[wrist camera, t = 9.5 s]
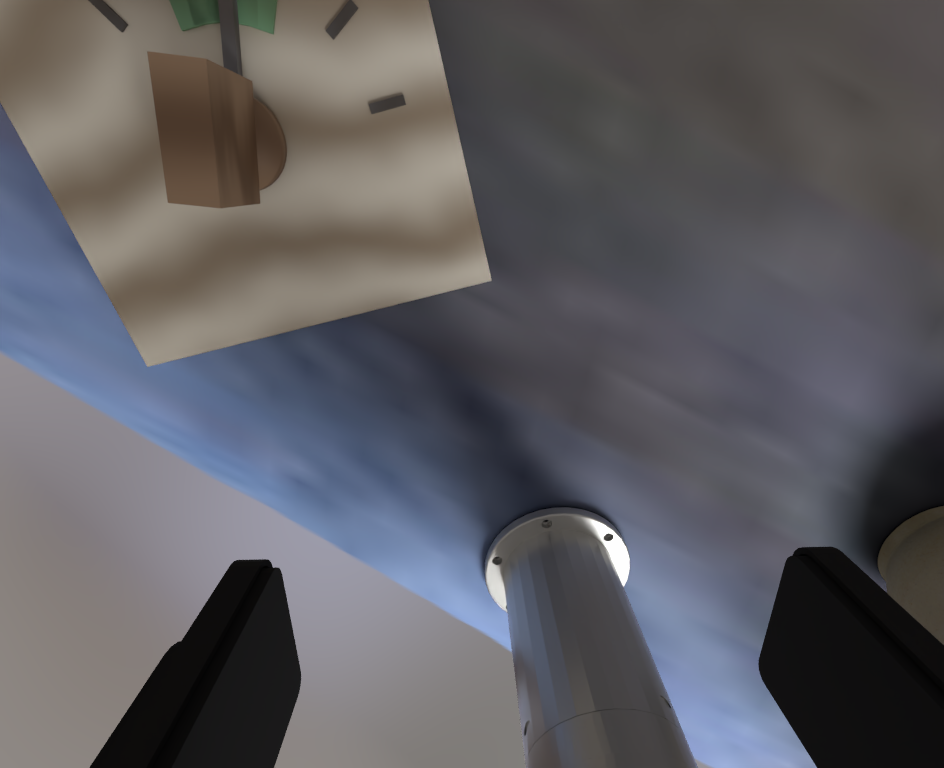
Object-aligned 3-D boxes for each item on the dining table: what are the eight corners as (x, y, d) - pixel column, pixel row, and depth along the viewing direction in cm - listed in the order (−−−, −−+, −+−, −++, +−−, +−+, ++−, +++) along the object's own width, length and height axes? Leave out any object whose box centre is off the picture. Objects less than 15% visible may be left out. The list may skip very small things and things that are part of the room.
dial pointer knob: (289, 205, 28) (248, 211, 23) (201, 196, 28) (138, 199, 22) (277, -59, 23) (222, -133, 18) (172, -74, 23) (82, -154, 18)
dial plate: (490, 276, 32) (491, 281, 31) (160, 359, 34) (145, 368, 32) (391, -159, 24) (386, -183, 22) (-45, -21, 25) (-79, -34, 24)
